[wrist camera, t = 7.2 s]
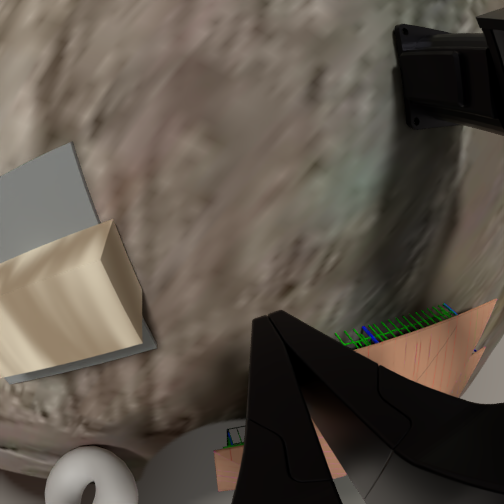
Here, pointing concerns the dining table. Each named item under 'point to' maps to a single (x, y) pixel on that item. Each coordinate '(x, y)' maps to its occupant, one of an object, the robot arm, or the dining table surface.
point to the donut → (91, 478)
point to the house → (399, 370)
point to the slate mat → (51, 227)
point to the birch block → (68, 302)
